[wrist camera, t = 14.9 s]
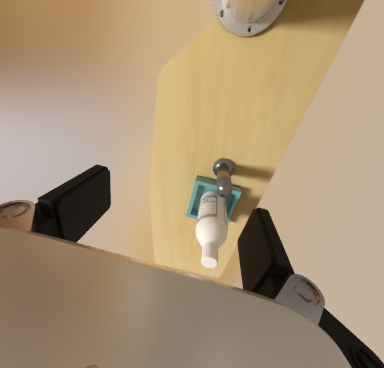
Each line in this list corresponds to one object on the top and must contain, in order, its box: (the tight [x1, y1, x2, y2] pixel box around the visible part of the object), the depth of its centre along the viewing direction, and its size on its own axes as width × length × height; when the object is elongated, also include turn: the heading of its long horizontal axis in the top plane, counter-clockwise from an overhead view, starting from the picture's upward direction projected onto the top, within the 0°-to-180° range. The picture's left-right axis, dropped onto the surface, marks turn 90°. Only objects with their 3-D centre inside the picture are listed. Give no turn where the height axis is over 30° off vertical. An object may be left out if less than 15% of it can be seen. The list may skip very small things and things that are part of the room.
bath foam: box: [196, 191, 228, 268], centre depth 38 cm, size 7×7×20 cm
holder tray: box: [187, 175, 242, 226], centre depth 47 cm, size 12×12×3 cm
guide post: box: [213, 158, 233, 198], centre depth 38 cm, size 5×5×12 cm
